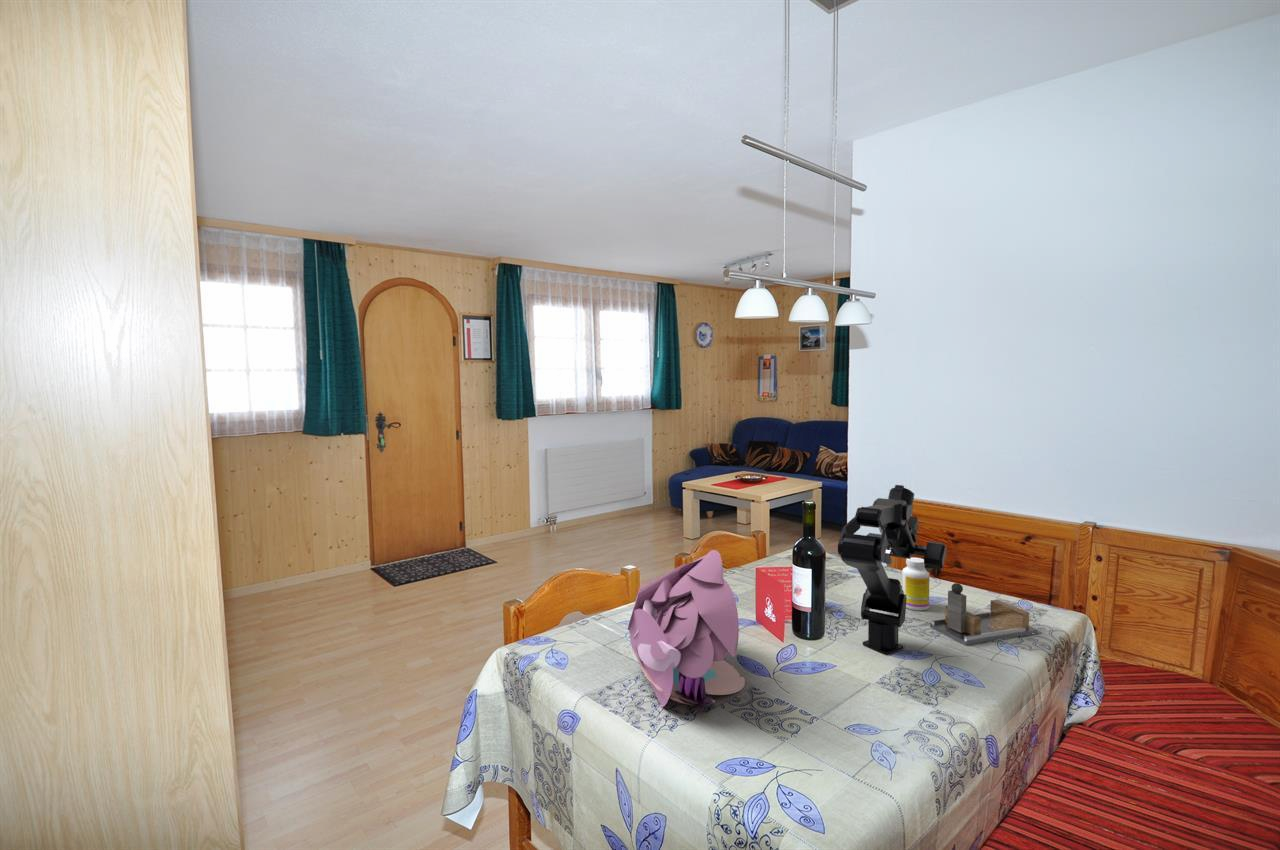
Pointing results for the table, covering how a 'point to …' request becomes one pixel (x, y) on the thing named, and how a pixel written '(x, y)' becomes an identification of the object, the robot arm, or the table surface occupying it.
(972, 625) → the sliding jaw
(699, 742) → the table surface
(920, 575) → the supplement bottle
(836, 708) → the table surface
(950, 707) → the table surface
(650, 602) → the flower arrangement
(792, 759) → the table surface
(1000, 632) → the bench clamp
